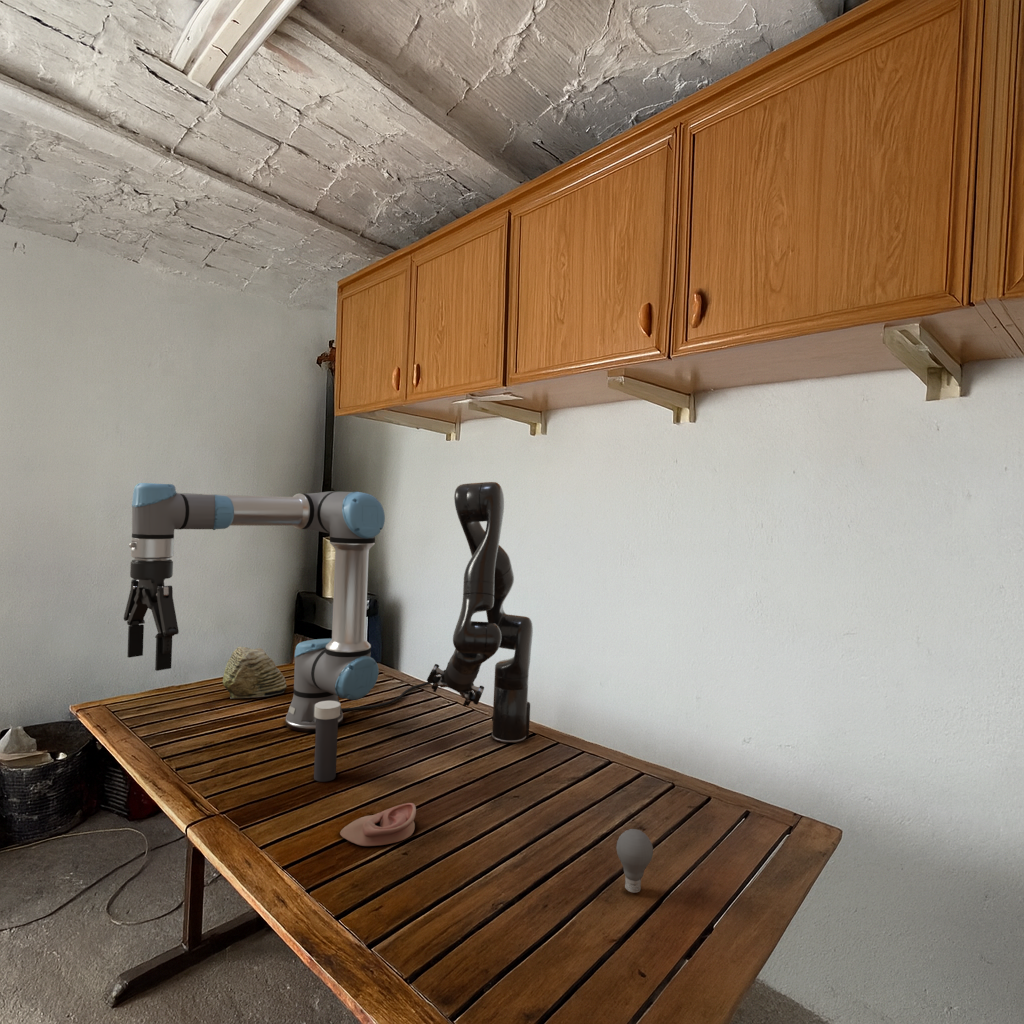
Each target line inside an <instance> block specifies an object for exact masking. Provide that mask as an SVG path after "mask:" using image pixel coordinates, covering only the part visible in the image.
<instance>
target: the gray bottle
mask: <svg viewBox="0 0 1024 1024" xmlns="http://www.w3.org/2000/svg"><path fill="white" fill-rule="evenodd" d="M338 729H339V726H338V717H337V718H334V719H327V720H323V719H317V718H316V732H315V738H314V739H315V740H314V760H313V761H314V762H313V763H314V764H313V765H314V766H313V780H314V781H316V782H320V783H326V782H331V781H333V780H334V779H336V777H337V760H338V759H337V758H338V757H337V755H338V733H339V730H338Z"/></svg>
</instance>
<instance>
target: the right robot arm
mask: <svg viewBox="0 0 1024 1024" xmlns="http://www.w3.org/2000/svg"><path fill="white" fill-rule="evenodd" d="M453 498H454V499H453V500H454V507H455V511H456V514H457V515H456V516H457V518H458V520H459V524H460V527H461V528H462V532H463V534H464V536H465V539H466V541H467V544H468V549H469V551H470V555H471V558H470V559H469V561H468V563H467V565H466V567H465V570H464V574H463V588H462V603H461V609H460V612H459V617H458V619H457V623H456V625H455V628H454V631H453V634H452V645H453V646H454V651H453V653H452V655H451V657H450V658H449V661H448V662H447V665H446V668H445V669H444V670H443V669H441V668H440V665H439V664H437V663H434V665H433V667H432V669H431V671H430V672H429V675H428V676H427V679H426V682H432V686H431V689H432V690H433V693H436V692H437V690H438V689H439V687H440V688H442V689H443V688H447V689H451V690H453V691H455V692H457V693H459V695H460V696H461V698H463V699H465V700H464V702H463V704H462V707H466V706H467V707H468V706H470V703H472V702H473V704H474V705H478V704H479V703H480V700H481V697H482V695H483V693H484V690H485V687H484V686H483V685H479V686H476V685H475V684H474V682H475V680H476V679H477V677H478V674H479V673H480V669H481V666H482V664H483V663H485V662H486V661H488V660H489V659H491V658H492V657H493V656H494V655H495V654H496V653H497V652H498V650H499V649H505V650H511V651H514V654H513V656H512V657H511V658H507V659H502V660H499V661H497V662H496V664H495V665H494V681H493V686H494V687H493V701H492V702H493V703H492V704H493V705H492V707H493V708H492V716H491V722H492V724H491V725H492V727H491V729H492V730H491V738H492V739H493V740H494V741H496V742H498V743H502V744H518V743H522V742H524V741H525V740H526V739H529V738H530V723H531V722H530V721H531V703H530V702H529V701H528V700H529V697H528V696H529V675H530V665H531V658H532V657H531V656H532V644H533V636H534V634H533V633H534V632H533V631H534V626H533V622H532V619H531V618H530V617H529V616H525V615H516V614H508V613H506V612H505V610H504V602H505V601H506V598H507V597H508V595H509V594H510V592H511V591H512V588H513V586H514V582H515V575H514V570H513V567H512V562H511V558H510V556H509V554H508V553H507V552H506V550H505V549H504V548H503V547H502V546H501V545H500V539H501V535H502V534H501V533H502V525H503V519H504V512H505V497H504V491H503V488H502V486H501V485H500V484H499V482H497V481H485V482H472V483H462V484H459V485H458V486H457V487H456V489H455V490H454V497H453ZM481 522H486V527H485V529H484V528H483V526H482V524H481ZM483 612H485V614H486V619H487V621H478V620H477V621H475V620H472V617H473V615H474V614H477V613H483Z"/></svg>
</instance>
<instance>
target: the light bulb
mask: <svg viewBox="0 0 1024 1024" xmlns="http://www.w3.org/2000/svg"><path fill="white" fill-rule="evenodd" d="M615 849H616V854H617V857H618V859H619V861H620V863H621V865H622V867H623V873H624V874H623V875H624V876H625V878H624V888H625V890H627V891H628V892H630V893H634V894H635V893H639V892H640V891H641V889H642V887H641V886H642V879H643V877H644V875H645V871H646V868H647V867H648V866H649V864H650V863H651V861H652V859H653V855H654V847H653V843H652V841H651V838H649V836H648V835H647V834H646V833H645V832H643V831H642V830H641V829H636V828H629V829H627V830H625V831H623V832H622V833H621V834H620V835H619V837H618V839H617V841H616V847H615Z"/></svg>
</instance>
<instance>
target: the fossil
mask: <svg viewBox="0 0 1024 1024" xmlns="http://www.w3.org/2000/svg"><path fill="white" fill-rule="evenodd" d="M222 676H223V677H222V685H223V687H224V688H225V690H226V691H228V693H229V698H230V699H250V698H264V697H271V696H275V695H281V694H284V693H285V691H286V689H287V687H288V686H287V680H286V678H285V676H284V674H283V673H282V672H281V669H279V668H278V667H277V665H276V663H275V662H274V660H273V659H272V658H271V657H270V656H269V655H268V654H267V653H266V652H265V650H264V649H263V648H260V647H258V648H251V647H247V646H246V647H245V646H238V647H237V648H236V649H235V650H233V651H232V653H231V656H230V657H229V659H228V660H227V663H226V666H225V668H224V671H223V675H222Z"/></svg>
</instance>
